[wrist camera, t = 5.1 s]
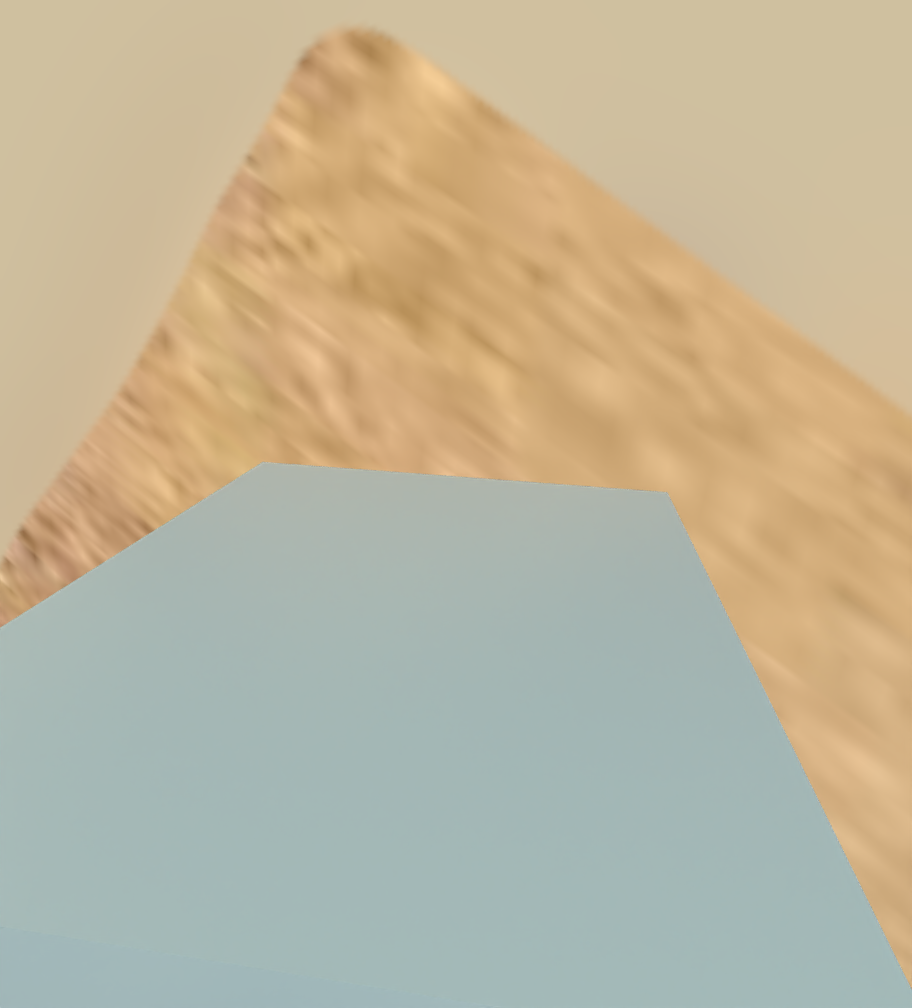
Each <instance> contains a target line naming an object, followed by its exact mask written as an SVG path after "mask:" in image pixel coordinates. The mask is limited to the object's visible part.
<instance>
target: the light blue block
mask: <svg viewBox="0 0 912 1008" xmlns="http://www.w3.org/2000/svg"><path fill="white" fill-rule="evenodd" d="M0 1008H912V989H911V987H910V985H909V983H908V981H907V979H906V977H905V975H904V973H903V971H902V969H901V967H900V965H899V963H898V961H897V959H896V957H895V955H894V953H893V951H892V949H891V947H890V945H889V943H888V941H887V939H886V937H885V934H884V932H883V930H882V928H881V926H880V924H879V922H878V920H877V918H876V916H875V914H874V912H873V910H872V908H871V906H870V904H869V902H868V900H867V898H866V896H865V894H864V892H863V890H862V888H861V886H860V884H859V882H858V880H857V878H856V875H855V873H854V871H853V869H852V867H851V865H850V863H849V861H848V859H847V857H846V855H845V853H844V851H843V849H842V847H841V845H840V843H839V841H838V839H837V837H836V835H835V833H834V831H833V829H832V827H831V825H830V823H829V821H828V819H827V816H826V814H825V812H824V810H823V808H822V806H821V804H820V802H819V800H818V798H817V796H816V794H815V792H814V790H813V788H812V786H811V784H810V782H809V780H808V778H807V776H806V774H805V772H804V770H803V768H802V766H801V764H800V762H799V760H798V757H797V755H796V753H795V751H794V749H793V747H792V745H791V743H790V741H789V739H788V737H787V735H786V733H785V731H784V729H783V727H782V725H781V723H780V721H779V719H778V717H777V715H776V713H775V711H774V709H773V707H772V705H771V703H770V701H769V698H768V696H767V694H766V692H765V690H764V688H763V686H762V684H761V682H760V680H759V678H758V676H757V674H756V672H755V670H754V668H753V666H752V664H751V662H750V660H749V658H748V656H747V654H746V652H745V650H744V648H743V646H742V644H741V641H740V639H739V637H738V635H737V633H736V631H735V629H734V627H733V625H732V623H731V621H730V619H729V617H728V615H727V613H726V611H725V609H724V607H723V605H722V603H721V601H720V599H719V597H718V595H717V593H716V591H715V589H714V587H713V585H712V582H711V580H710V578H709V576H708V574H707V572H706V570H705V568H704V566H703V564H702V562H701V560H700V558H699V556H698V554H697V552H696V550H695V548H694V546H693V544H692V542H691V540H690V538H689V536H688V534H687V532H686V530H685V528H684V526H683V523H682V521H681V519H680V517H679V515H678V513H677V511H676V509H675V507H674V505H673V503H672V501H671V499H670V497H669V495H668V493H667V492H657V491H643V490H630V489H617V488H603V487H590V486H576V485H563V484H550V483H536V482H523V481H510V480H496V479H483V478H469V477H456V476H443V475H429V474H416V473H402V472H389V471H376V470H362V469H349V468H336V467H322V466H309V465H295V464H282V463H269V462H262V463H260V464H259V465H257V466H256V467H254V468H252V469H251V470H249V471H248V472H246V473H245V474H243V475H241V476H240V477H238V478H237V479H235V480H233V481H232V482H230V483H229V484H227V485H226V486H224V487H222V488H221V489H219V490H218V491H216V492H214V493H213V494H211V495H210V496H208V497H207V498H205V499H203V500H202V501H200V502H199V503H197V504H195V505H194V506H192V507H191V508H189V509H188V510H186V511H184V512H183V513H181V514H180V515H178V516H176V517H175V518H173V519H172V520H170V521H169V522H167V523H165V524H164V525H162V526H161V527H159V528H157V529H156V530H154V531H153V532H151V533H150V534H148V535H146V536H145V537H143V538H142V539H140V540H138V541H137V542H135V543H134V544H132V545H131V546H129V547H127V548H126V549H124V550H123V551H121V552H119V553H118V554H116V555H115V556H113V557H112V558H110V559H108V560H107V561H105V562H104V563H102V564H100V565H99V566H97V567H96V568H94V569H93V570H91V571H89V572H88V573H86V574H85V575H83V576H81V577H80V578H78V579H77V580H75V581H74V582H72V583H70V584H69V585H67V586H66V587H64V588H62V589H61V590H59V591H58V592H56V593H55V594H53V595H51V596H50V597H48V598H47V599H45V600H43V601H42V602H40V603H39V604H37V605H36V606H34V607H32V608H31V609H29V610H28V611H26V612H24V613H23V614H21V615H20V616H18V617H17V618H15V619H13V620H12V621H10V622H9V623H7V624H5V625H4V626H2V627H1V628H0Z"/></svg>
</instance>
